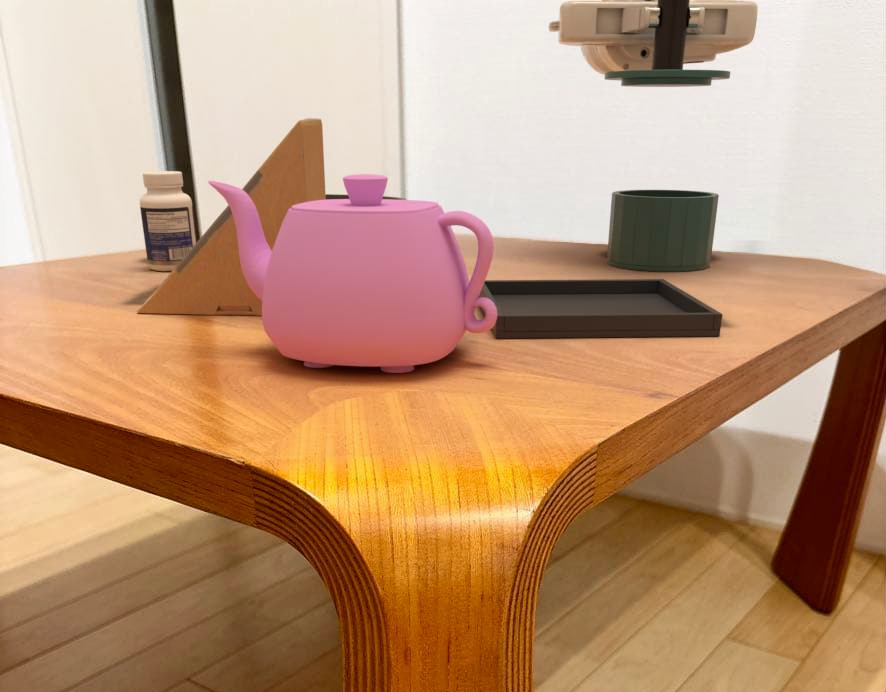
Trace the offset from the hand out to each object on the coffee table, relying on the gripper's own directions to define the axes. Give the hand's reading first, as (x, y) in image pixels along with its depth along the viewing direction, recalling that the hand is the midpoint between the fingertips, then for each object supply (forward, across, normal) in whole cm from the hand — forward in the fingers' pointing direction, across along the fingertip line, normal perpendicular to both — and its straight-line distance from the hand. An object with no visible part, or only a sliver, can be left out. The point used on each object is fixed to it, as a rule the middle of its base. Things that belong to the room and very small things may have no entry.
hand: (674, 17), depth 88 cm
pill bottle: (-5, -52, +24) cm, 57 cm away
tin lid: (-1, 0, +5) cm, 5 cm away
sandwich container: (+17, -42, +24) cm, 51 cm away
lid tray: (+23, -12, +24) cm, 35 cm away
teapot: (+36, -30, +24) cm, 53 cm away
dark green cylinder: (-6, +2, +24) cm, 25 cm away
